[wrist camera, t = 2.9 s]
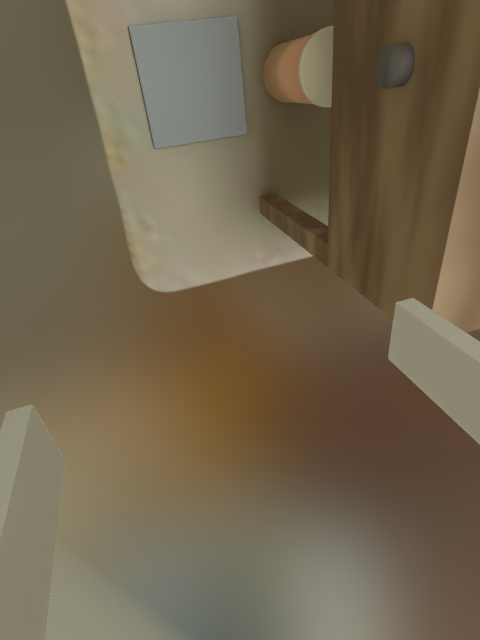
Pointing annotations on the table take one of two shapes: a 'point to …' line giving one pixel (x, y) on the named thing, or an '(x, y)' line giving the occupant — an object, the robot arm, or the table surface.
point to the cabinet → (402, 157)
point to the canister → (301, 69)
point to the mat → (191, 79)
